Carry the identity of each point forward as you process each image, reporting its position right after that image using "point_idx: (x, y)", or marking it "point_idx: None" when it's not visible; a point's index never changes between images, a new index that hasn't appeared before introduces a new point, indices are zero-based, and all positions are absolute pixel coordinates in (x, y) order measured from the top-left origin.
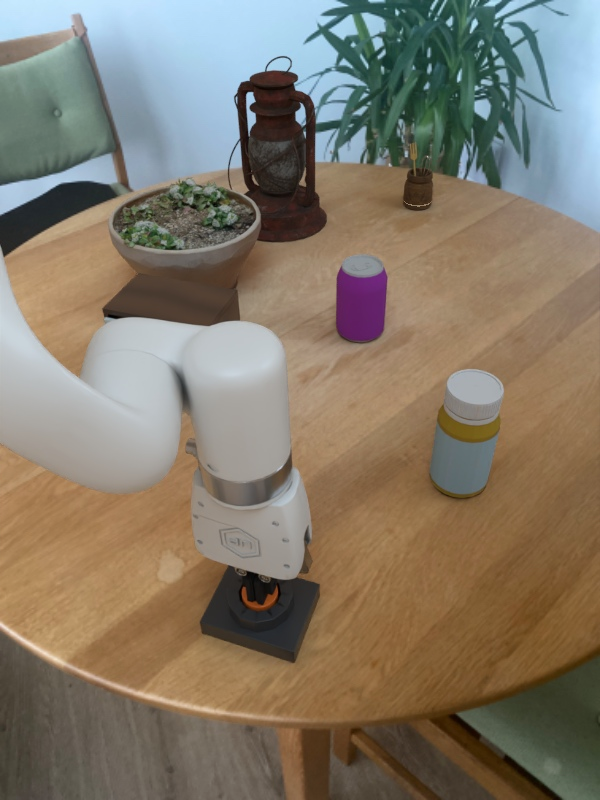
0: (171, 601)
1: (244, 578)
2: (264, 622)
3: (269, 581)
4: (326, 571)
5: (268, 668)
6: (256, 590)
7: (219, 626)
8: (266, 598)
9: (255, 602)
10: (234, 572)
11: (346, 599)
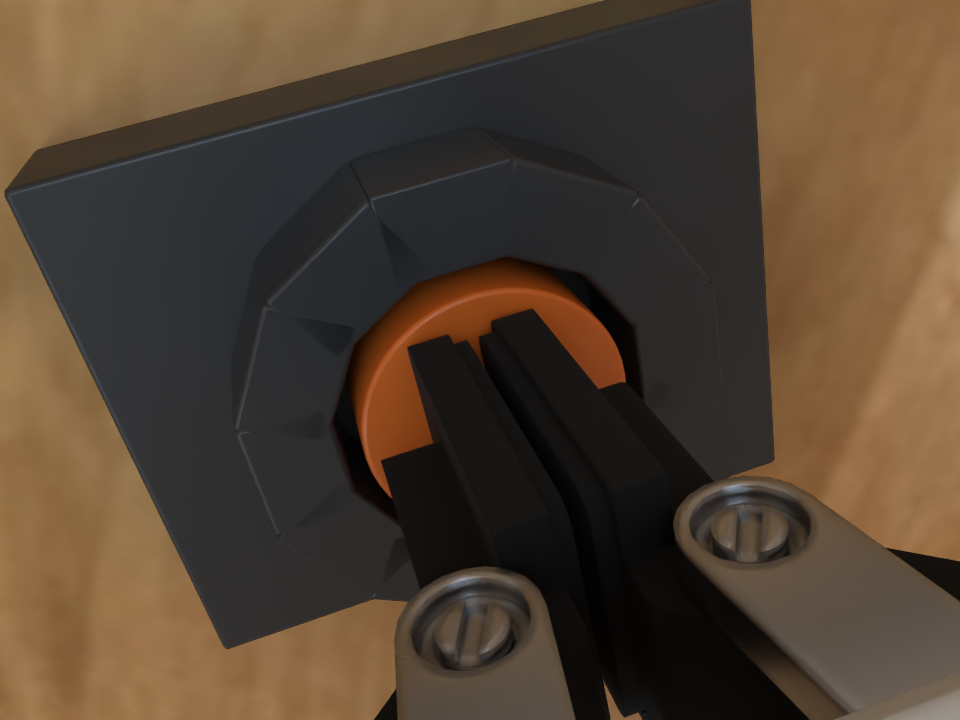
0: (936, 56)
1: (660, 454)
2: (312, 243)
3: (401, 624)
4: (289, 675)
5: (156, 18)
6: (495, 433)
7: (608, 42)
8: (419, 405)
9: (472, 332)
10: (718, 407)
11: (84, 634)
